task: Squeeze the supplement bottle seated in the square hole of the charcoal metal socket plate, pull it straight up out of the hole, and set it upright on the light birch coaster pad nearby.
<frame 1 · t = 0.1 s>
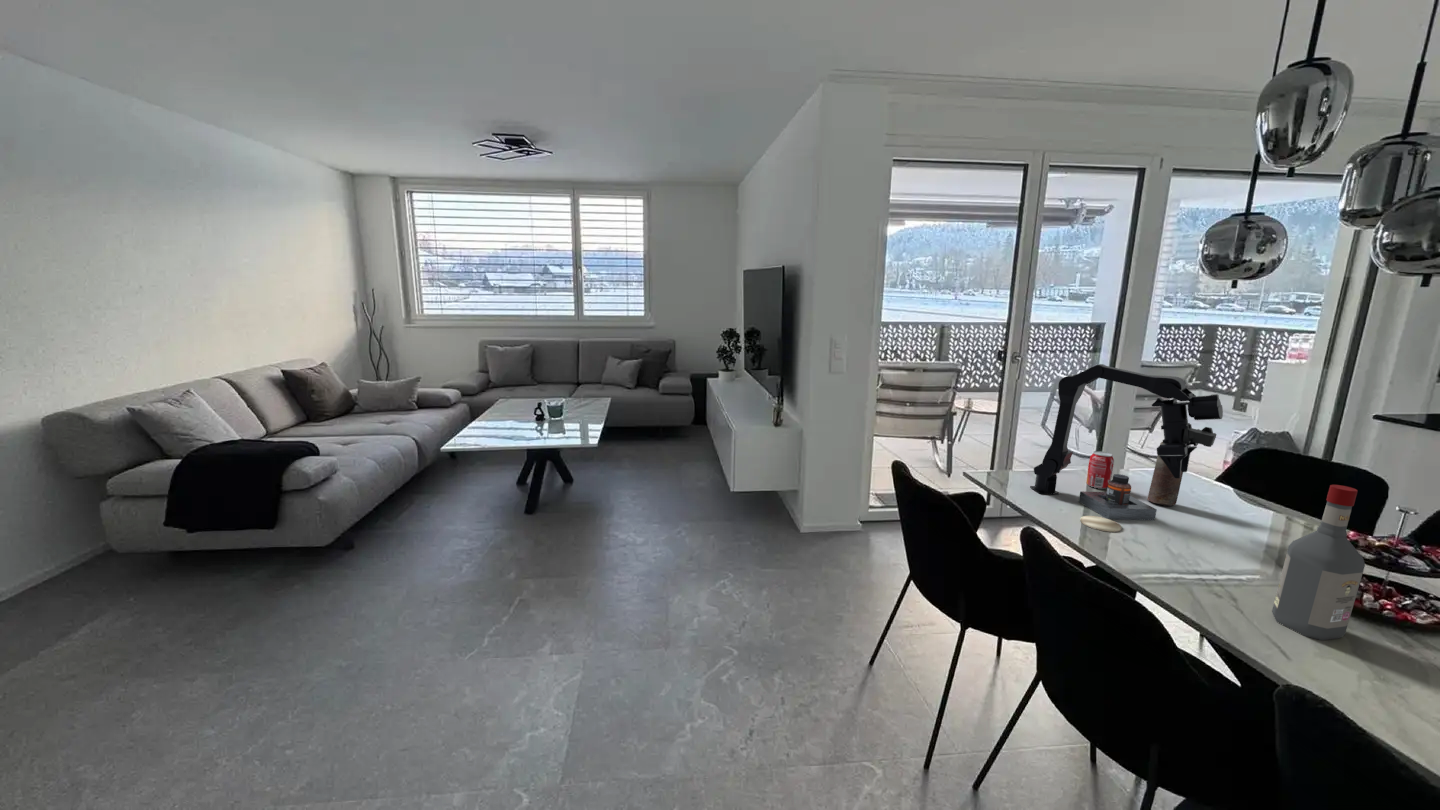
hand: (1181, 475, 163), 15 cm above the table, tool pointing down, fingers open, 9 cm apart
coaster pad: (1100, 524, 165), on the table
grey bottle: (1305, 627, 117), on the table
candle: (1161, 504, 184), on the table
supplement bottle: (1115, 511, 176), resting in socket plate
soda can: (1097, 487, 198), on the table
socket plate: (1115, 510, 176), on the table
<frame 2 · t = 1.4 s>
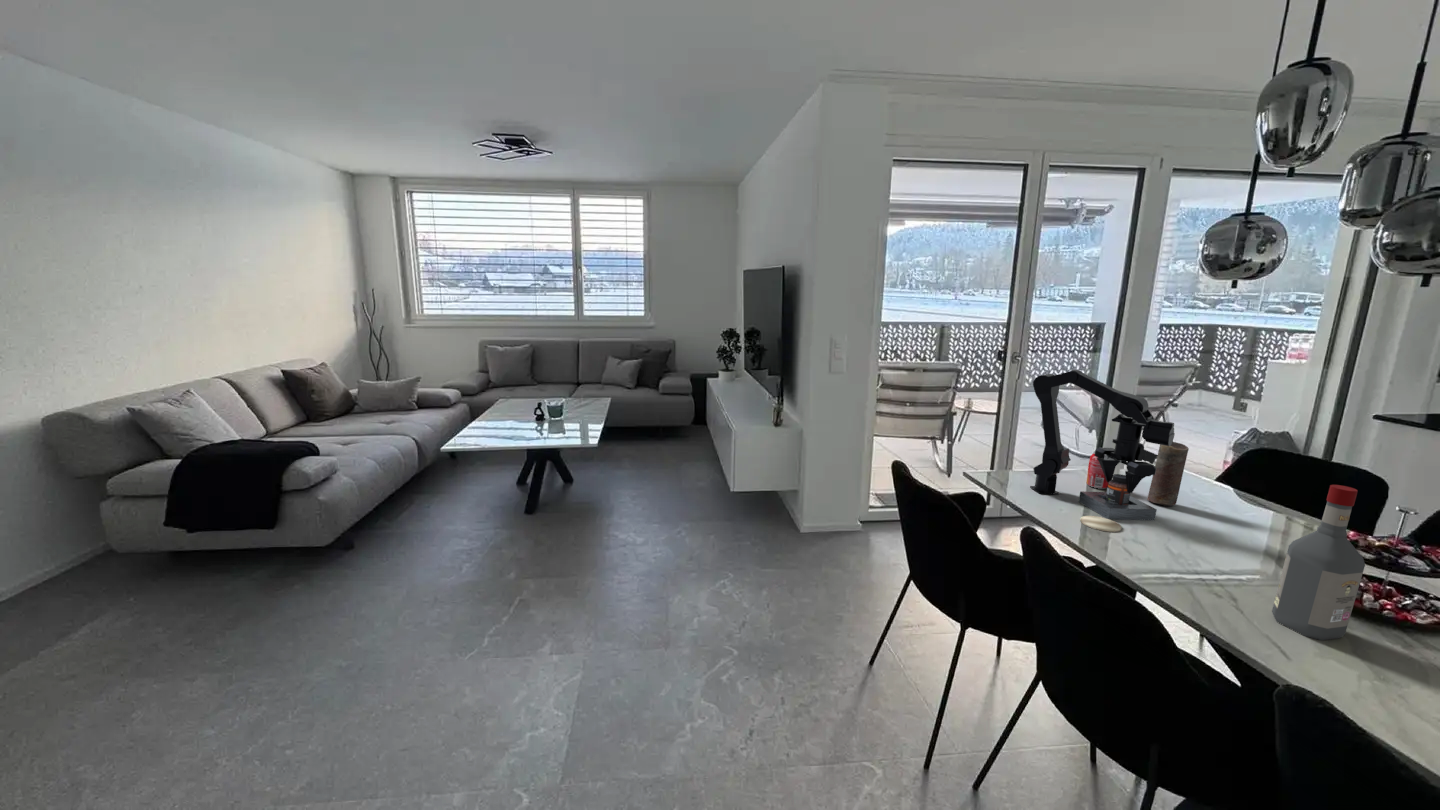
hand: (1118, 487, 175), 8 cm above the table, tool pointing down, fingers open, 9 cm apart
nothing on the table moved.
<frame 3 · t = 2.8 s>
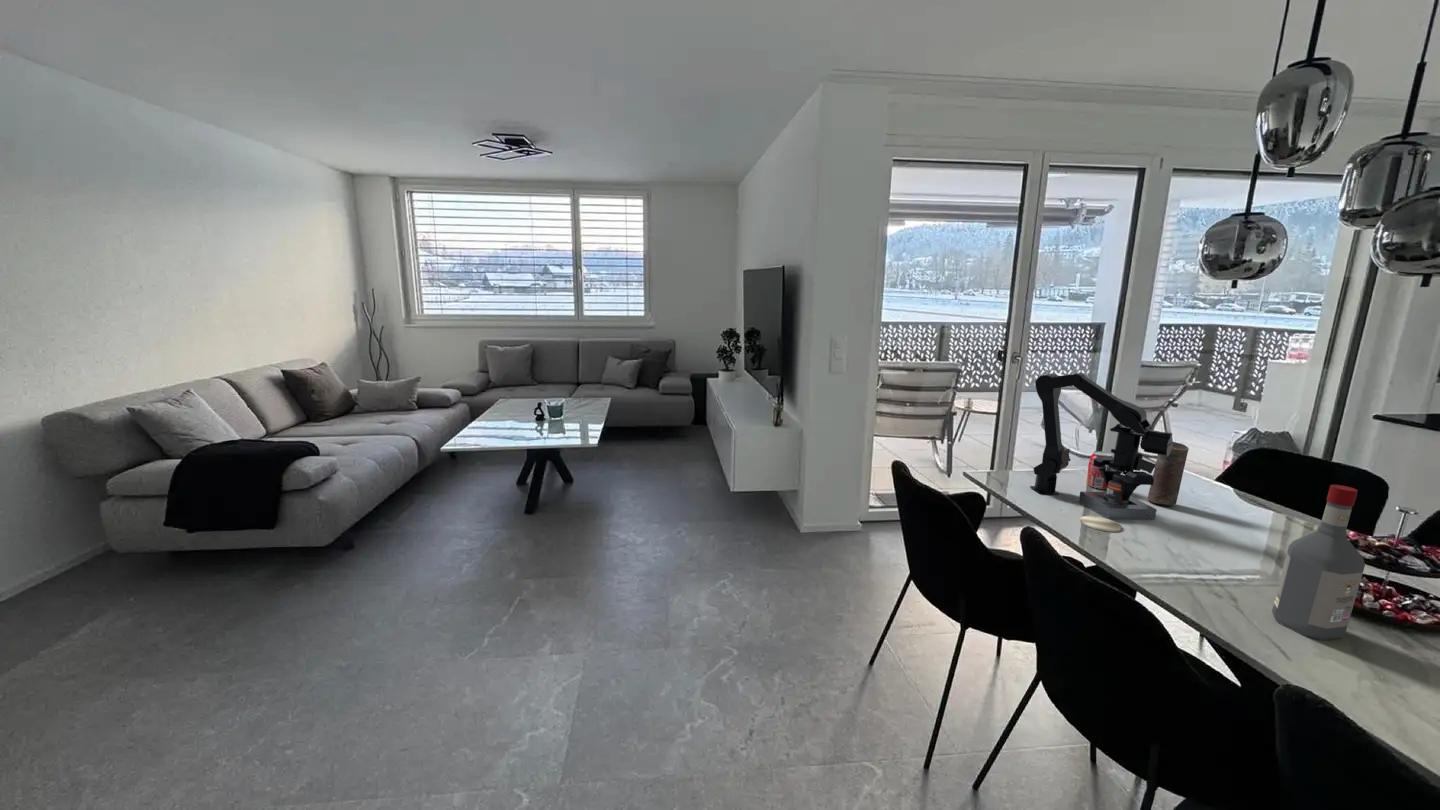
hand: (1117, 496, 175), 5 cm above the table, tool pointing down, fingers closed on supplement bottle, 6 cm apart
supplement bottle: (1114, 511, 176), resting in socket plate, touching gripper
everything else where it was.
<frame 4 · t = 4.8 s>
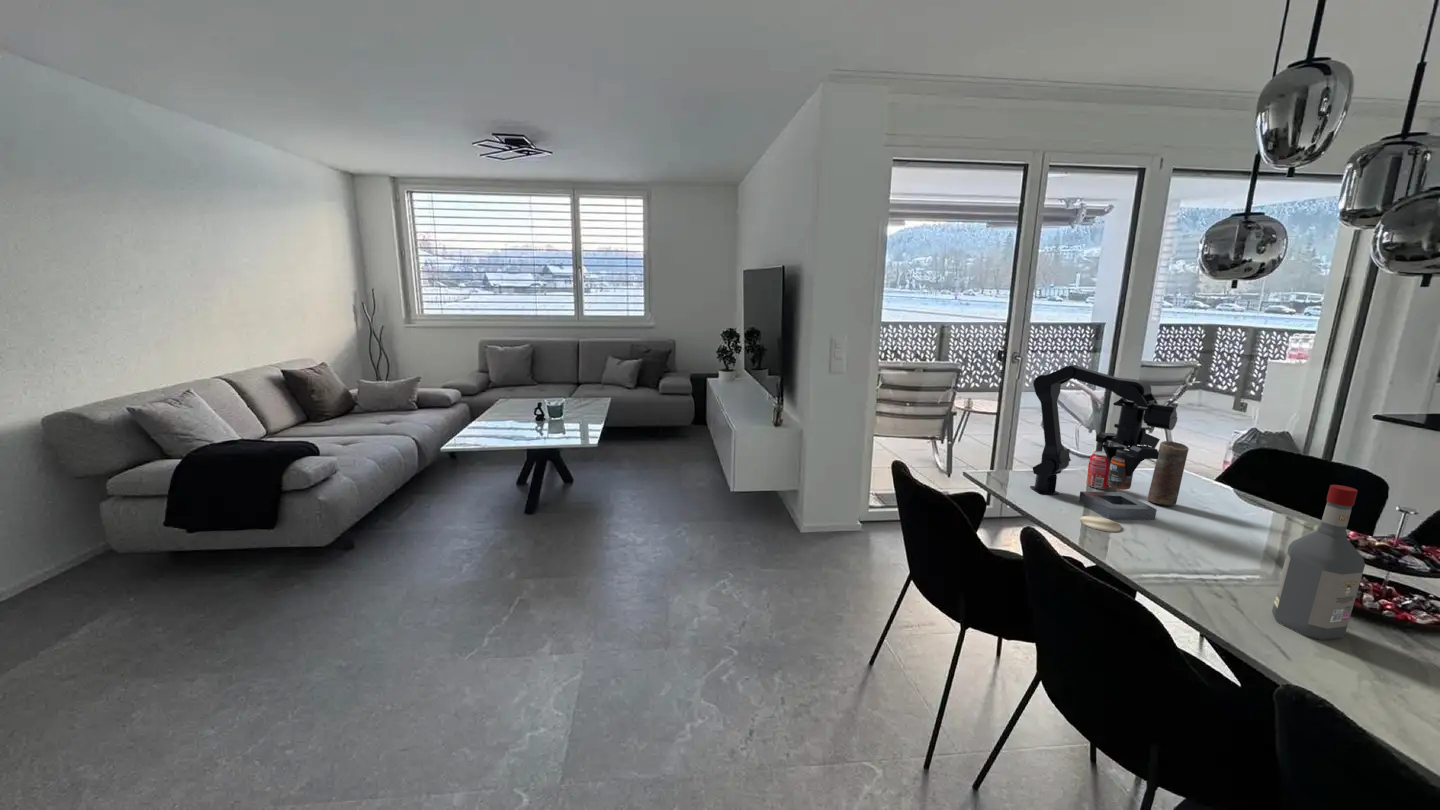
hand: (1120, 472, 173), 13 cm above the table, tool pointing down, fingers closed on supplement bottle, 6 cm apart
supplement bottle: (1118, 487, 174), point 8 cm above the table, touching gripper
everything else where it was.
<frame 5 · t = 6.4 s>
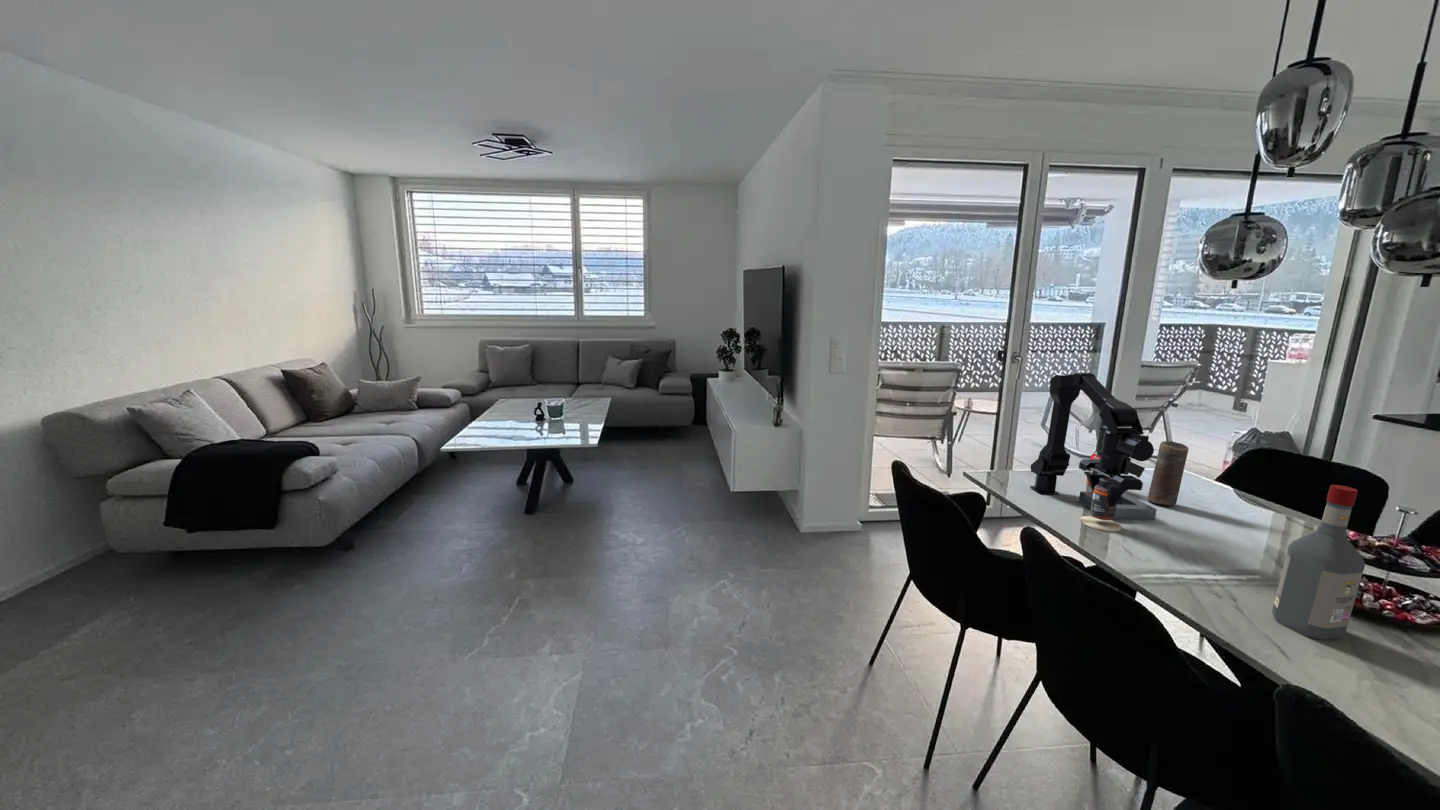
hand: (1104, 502, 164), 7 cm above the table, tool pointing down, fingers closed on supplement bottle, 6 cm apart
supplement bottle: (1101, 517, 165), point 2 cm above the table, touching gripper
everything else where it was.
when the fingers open (6 cm above the table, at t = 7.4 s): supplement bottle stays where it is, resting on coaster pad.
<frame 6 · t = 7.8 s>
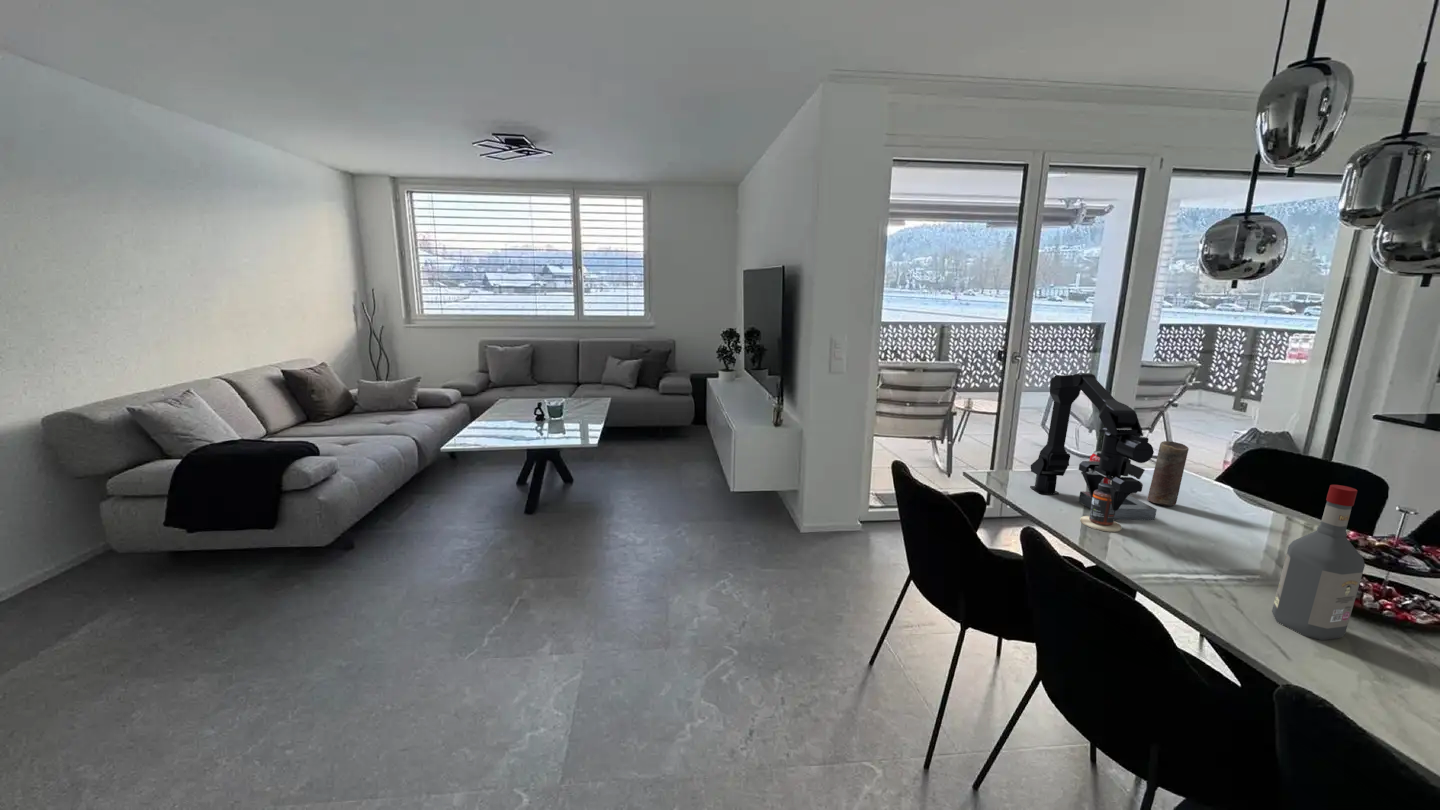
hand: (1104, 504, 164), 6 cm above the table, tool pointing down, fingers open, 9 cm apart
supplement bottle: (1100, 522, 165), resting on coaster pad
everything else where it was.
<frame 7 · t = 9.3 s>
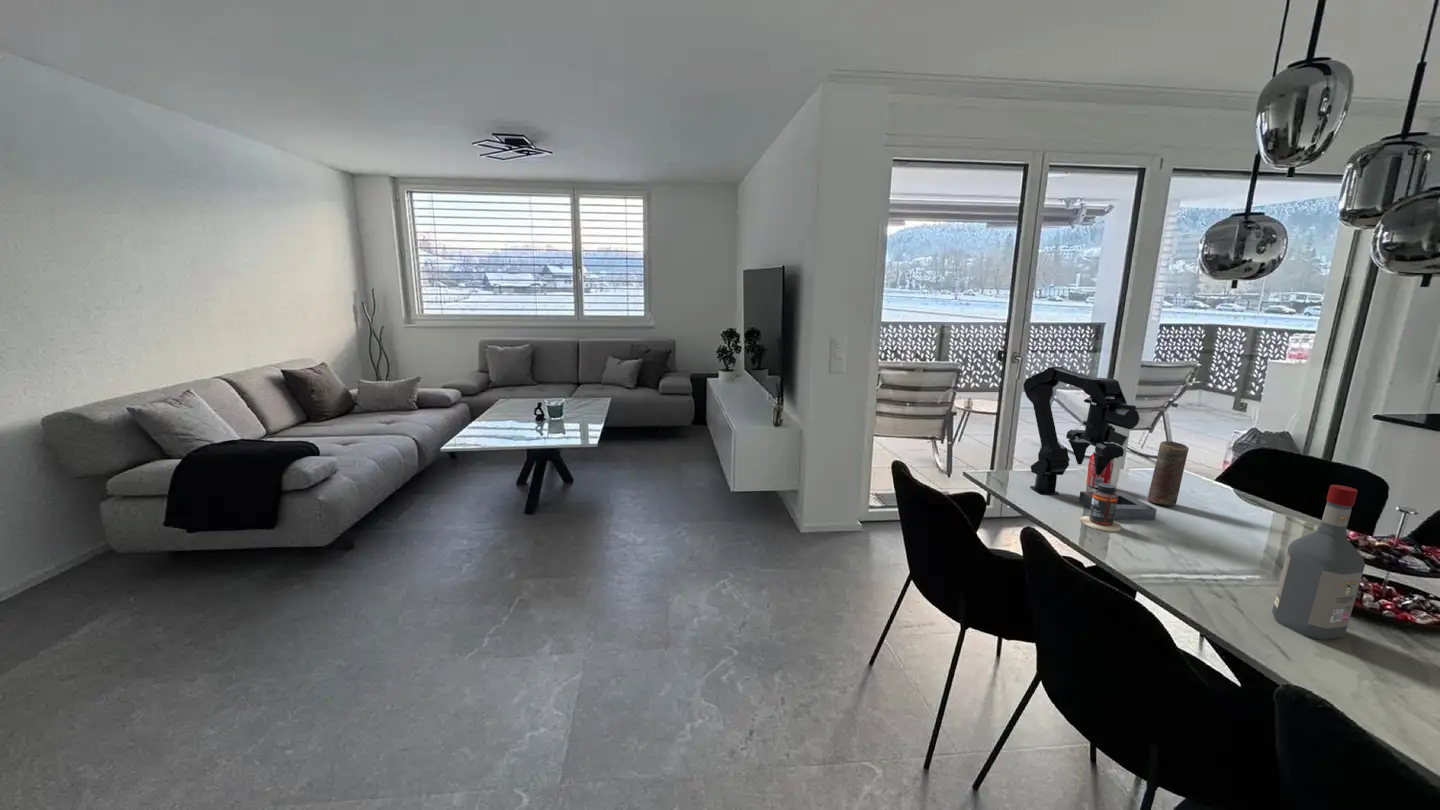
hand: (1088, 469, 175), 13 cm above the table, tool pointing down, fingers open, 9 cm apart
nothing on the table moved.
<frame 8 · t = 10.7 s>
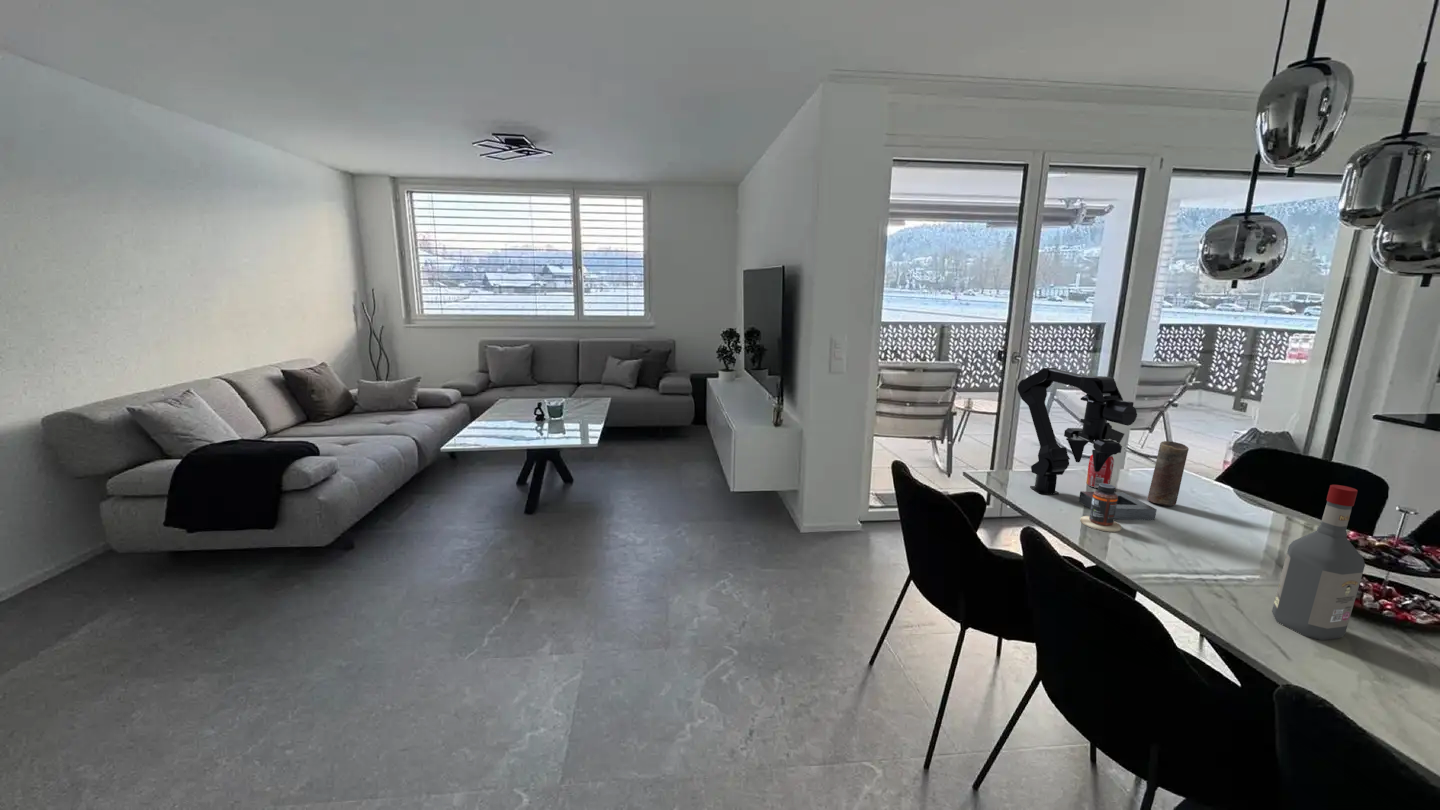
hand: (1087, 466, 176), 13 cm above the table, tool pointing down, fingers open, 9 cm apart
nothing on the table moved.
at the end: supplement bottle 0.1 cm from the coaster pad (horizontally); supplement bottle tilted 1°; the gripper is holding nothing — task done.
